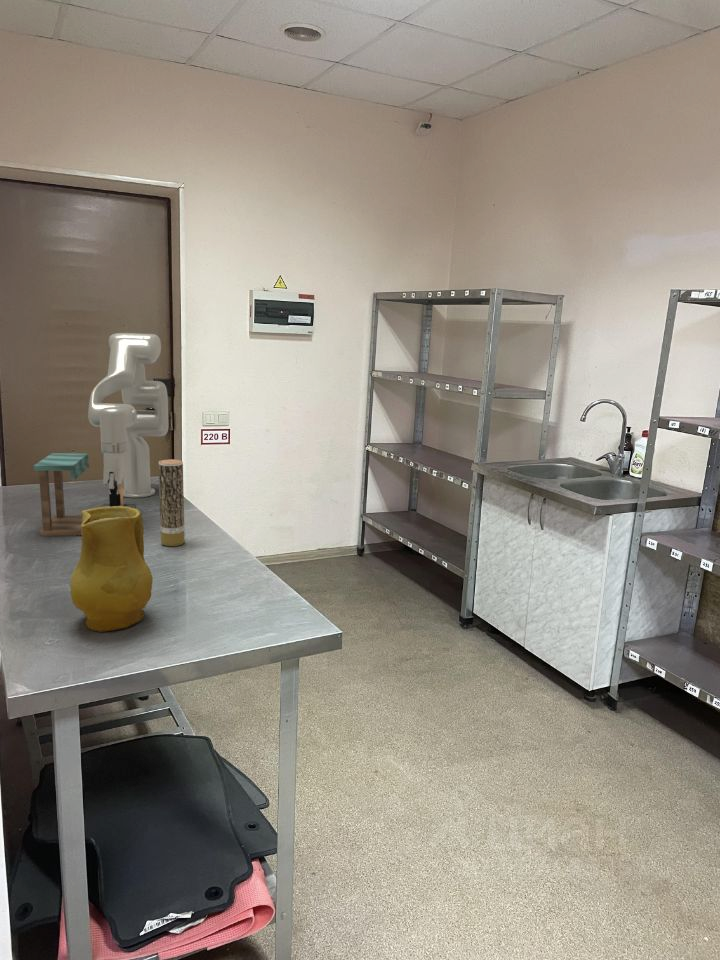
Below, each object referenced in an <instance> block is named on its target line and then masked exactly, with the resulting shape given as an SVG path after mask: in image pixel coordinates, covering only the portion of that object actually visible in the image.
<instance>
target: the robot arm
mask: <svg viewBox="0 0 720 960" xmlns="http://www.w3.org/2000/svg"><path fill="white" fill-rule="evenodd" d="M108 345H109V349H110V351H109V361H108V369H107V375H106V376H105V377H104V378H102V379H101V380H100V381H99V382H98V383H97V384H96V385H95V386H94V388H93V389H92V391H91V393H90V397H89V404H88V412H87V413H88V414H87V417H88V421H89V423H90V425H91V426H93V427H96V428H99V431H100V448H101V450H100V452H101V453H102V454H103V461H102V462H103V465H102V466H103V467H102V468H103V469H102V475H103V476H102V477H103V478H102V482H103V483H102V484H103V486H107V485H108V497H109V498H108V499H109V500H108V501H109V504H110V507H112V506H121V501H120V494H119V485H120V484H121V483H122V482H123V498H124V497H125V498H145V497H149V496H153V495H155V493H156V489H155V488H153V487H151V462H150V461H151V460H150V458H151V457H150V454H151V453H150V447H149V444H148V443H147V441H146V440H145V439H144V437H164V436H165V435H167V434H168V431H169V426H170V425H169V401H168V400H169V398H168V389H167V385H166V384H165V383H164V382H163V381H159V380H147V377H146V367H145V364H146V365H147V364H148V365H149V364H150V365H151V364H154V363H156V361H157V360H158V359H159V357H160V355H161V353H162V343H161V339H160V337H159V335H157V334H154V333H136V332H117V333H113V334H111V335H110V336H109V337H108ZM119 391H121V400H122V402H123V403H106V402H105V403H103V402H102V401H103V400H104V399H105V398H106V397H108V396H110V395H111V394H113V393H117V392H119ZM136 407H139V408H153V409H154V410H153V409H152V410H150V409H149V410H148V409H147V410H144V409H136ZM114 483H116V484H114ZM114 486H117V490H116V487H114ZM123 502H124V499H123Z"/></svg>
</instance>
